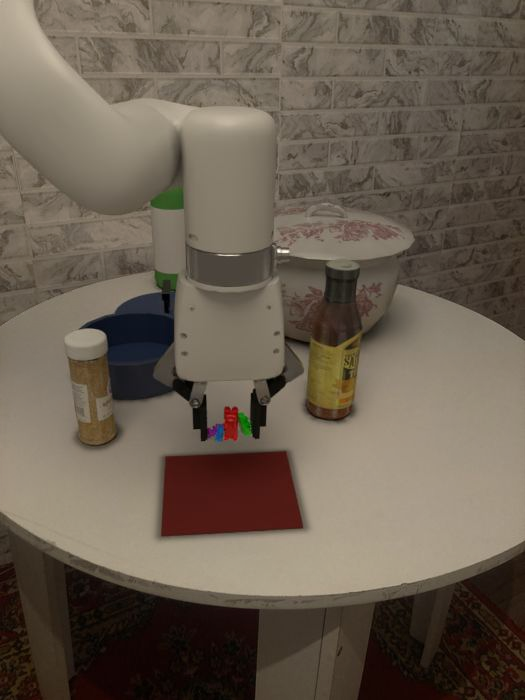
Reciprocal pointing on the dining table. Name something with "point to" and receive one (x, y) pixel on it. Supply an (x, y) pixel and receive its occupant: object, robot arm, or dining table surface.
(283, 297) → the chamber pot
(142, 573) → the dining table surface
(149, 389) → the pan
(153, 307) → the lid
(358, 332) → the sauce bottle
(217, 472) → the cloth
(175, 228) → the wine bottle
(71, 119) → the robot arm
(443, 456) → the dining table surface
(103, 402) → the spice jar
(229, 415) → the gummy candies
